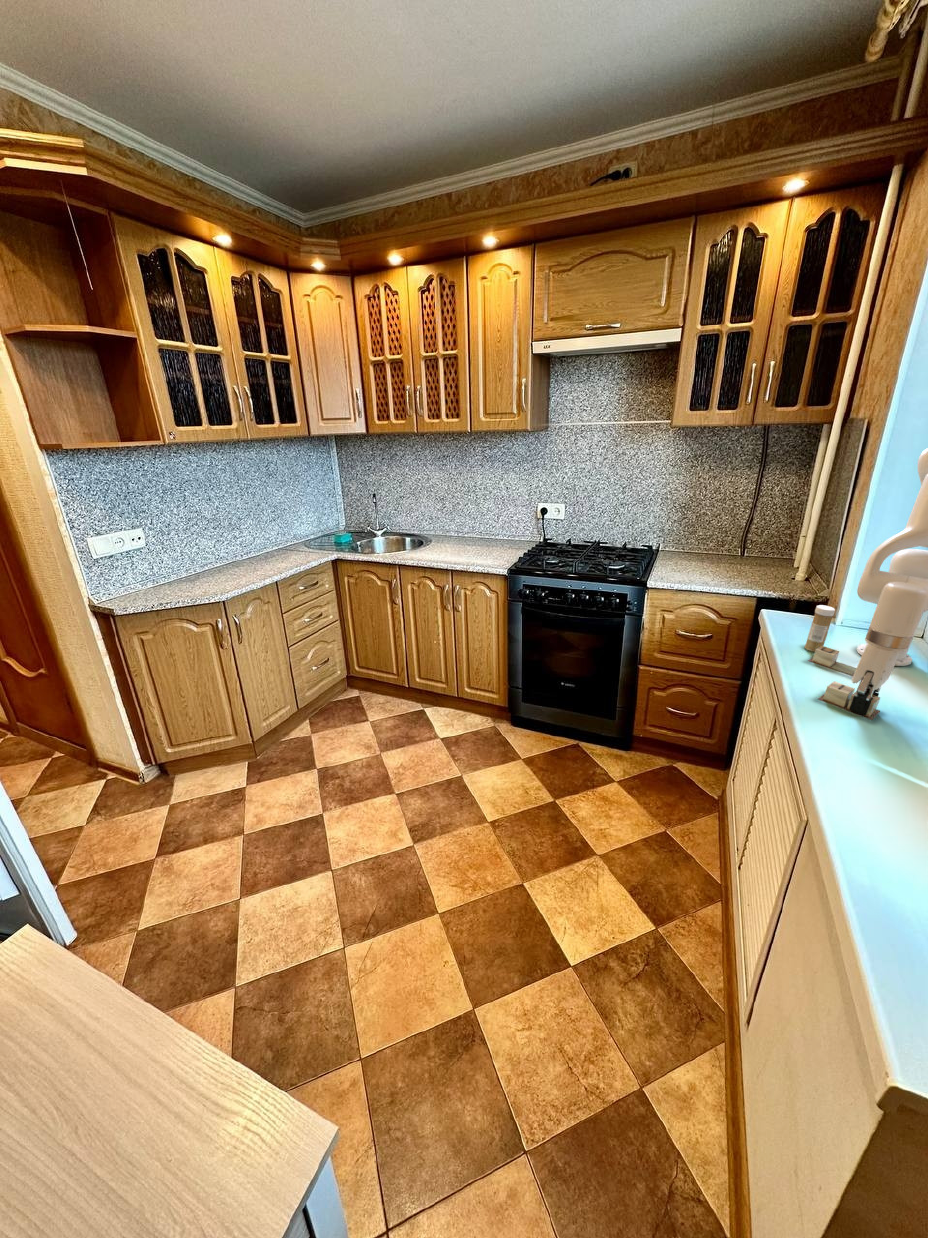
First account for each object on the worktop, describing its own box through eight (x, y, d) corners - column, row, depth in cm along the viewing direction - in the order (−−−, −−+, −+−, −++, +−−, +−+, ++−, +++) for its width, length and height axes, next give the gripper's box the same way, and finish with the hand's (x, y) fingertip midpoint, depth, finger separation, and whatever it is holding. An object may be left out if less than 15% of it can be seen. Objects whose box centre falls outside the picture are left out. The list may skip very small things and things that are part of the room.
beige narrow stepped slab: (815, 656, 146) (820, 643, 144) (860, 671, 138) (865, 657, 136) (806, 662, 142) (811, 648, 141) (852, 678, 134) (857, 664, 133)
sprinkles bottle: (824, 650, 150) (838, 608, 145) (817, 654, 148) (831, 611, 142) (808, 645, 153) (821, 603, 148) (800, 648, 151) (813, 606, 146)
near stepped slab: (826, 693, 127) (832, 678, 125) (880, 713, 119) (886, 697, 117) (816, 701, 123) (822, 685, 121) (870, 722, 115) (877, 705, 113)
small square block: (853, 702, 122) (858, 689, 120) (875, 710, 118) (880, 697, 117) (846, 708, 119) (851, 694, 118) (868, 717, 116) (874, 703, 115)
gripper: (879, 624, 119) (855, 691, 126) (854, 641, 110) (829, 713, 117) (920, 635, 114) (892, 704, 121) (897, 654, 104) (868, 728, 111)
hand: (861, 708), depth 119 cm, fingers closed on small square block, 4 cm apart
